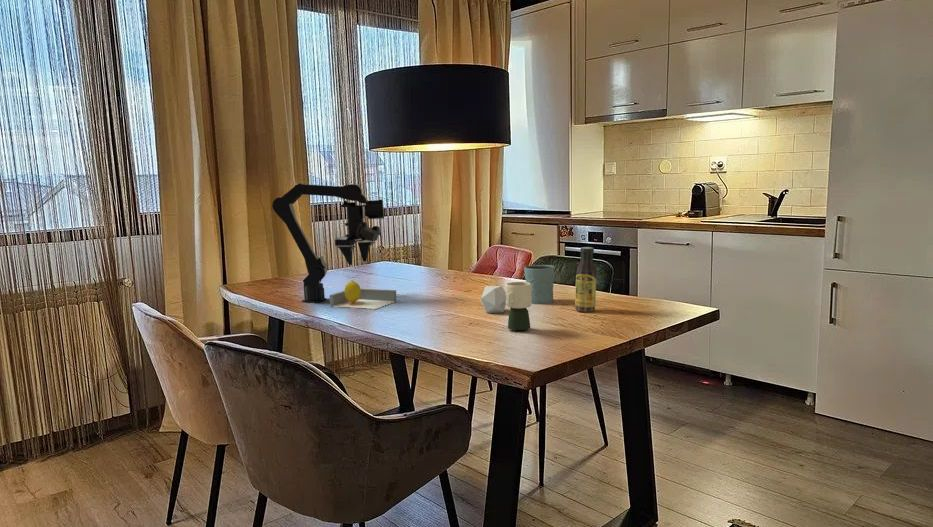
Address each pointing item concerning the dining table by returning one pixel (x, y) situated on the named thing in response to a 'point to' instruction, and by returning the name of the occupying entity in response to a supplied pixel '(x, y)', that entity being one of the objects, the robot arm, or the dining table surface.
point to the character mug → (518, 304)
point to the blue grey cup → (540, 283)
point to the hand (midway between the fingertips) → (357, 263)
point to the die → (494, 299)
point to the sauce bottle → (585, 282)
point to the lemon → (352, 291)
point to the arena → (365, 299)
